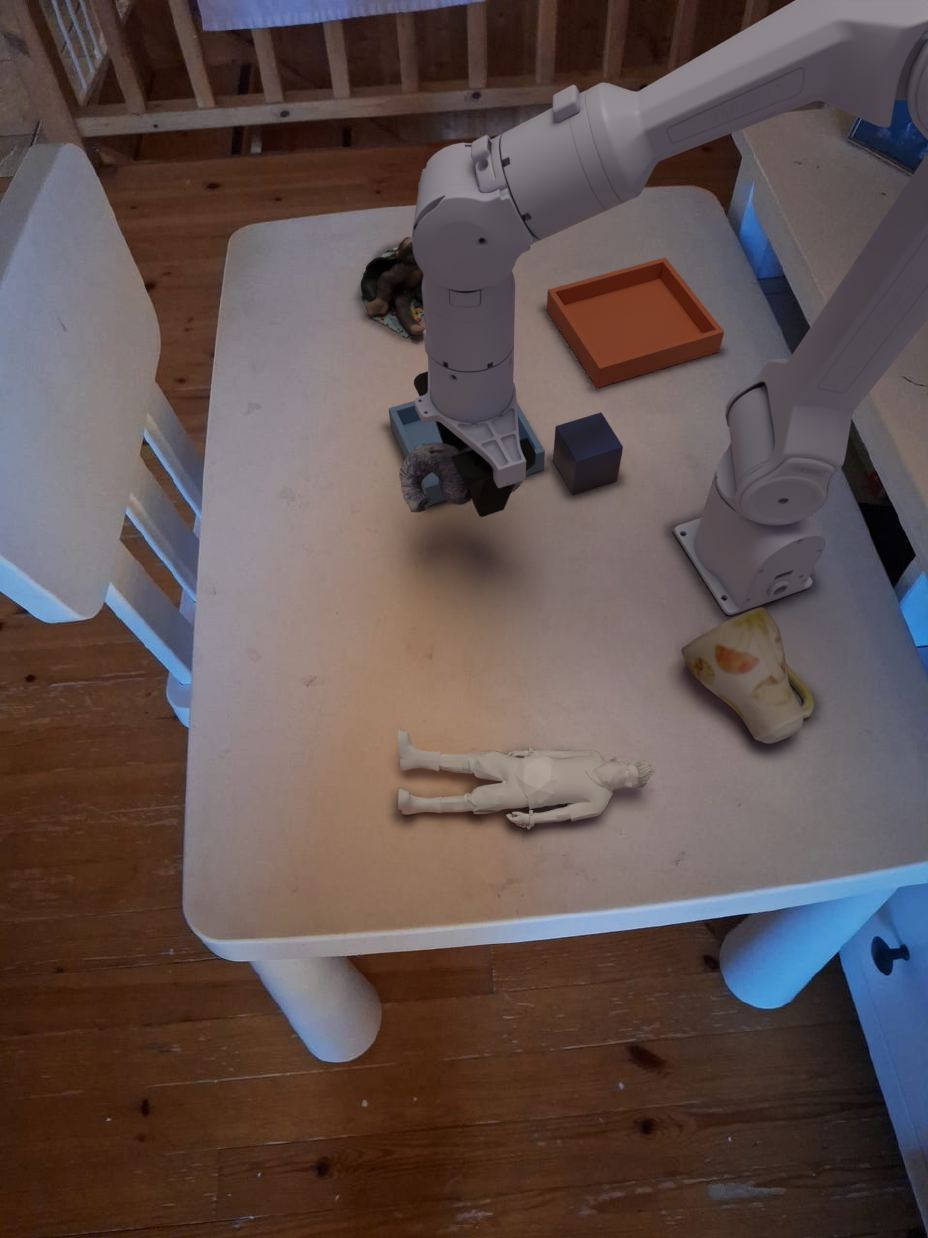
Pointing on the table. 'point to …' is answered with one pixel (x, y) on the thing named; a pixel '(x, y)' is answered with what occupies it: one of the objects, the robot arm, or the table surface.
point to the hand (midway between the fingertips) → (474, 479)
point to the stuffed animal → (395, 289)
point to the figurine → (524, 782)
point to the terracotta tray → (633, 321)
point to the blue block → (587, 453)
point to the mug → (751, 674)
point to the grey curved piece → (442, 466)
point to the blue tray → (417, 432)
